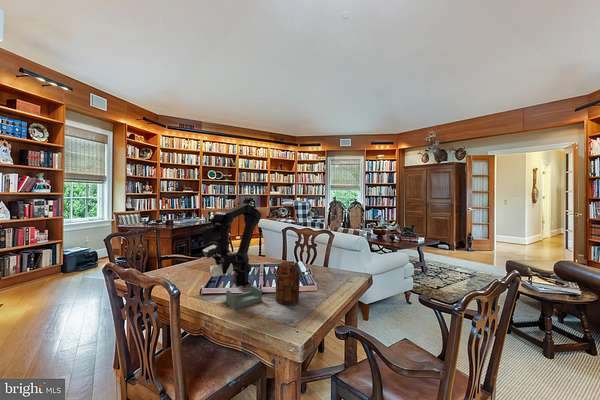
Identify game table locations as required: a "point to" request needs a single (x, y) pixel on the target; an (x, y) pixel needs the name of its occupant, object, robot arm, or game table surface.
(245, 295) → the grey-green grooved block
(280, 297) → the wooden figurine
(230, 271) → the roll
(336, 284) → the game table surface
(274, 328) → the game table surface
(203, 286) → the game table surface
